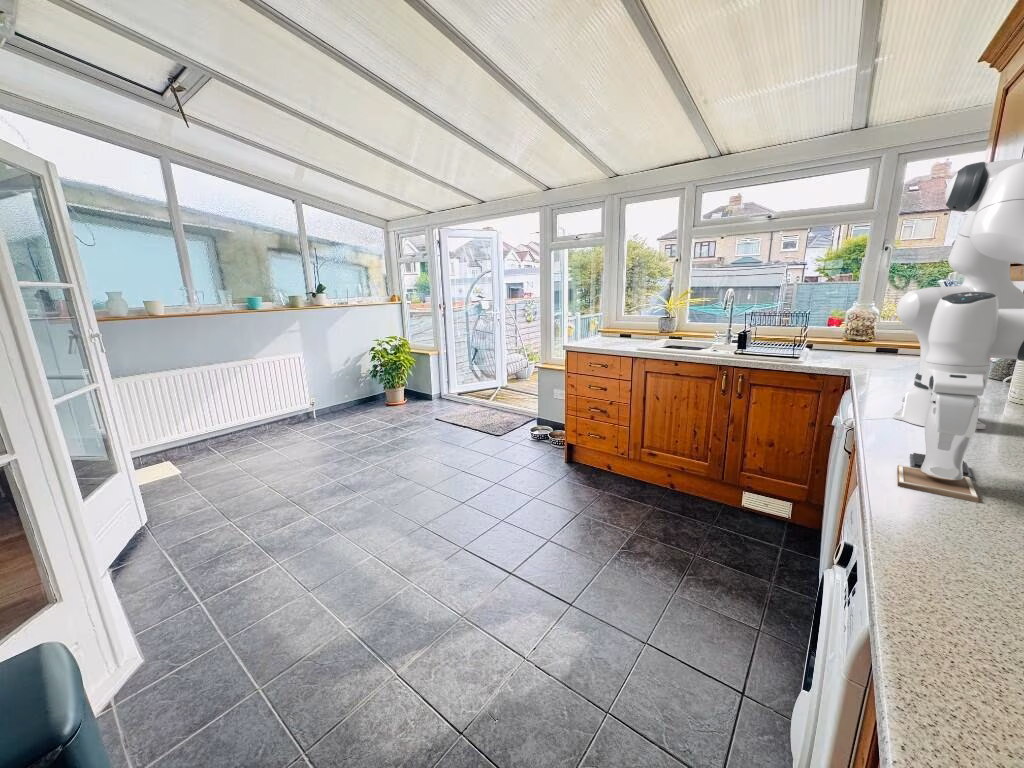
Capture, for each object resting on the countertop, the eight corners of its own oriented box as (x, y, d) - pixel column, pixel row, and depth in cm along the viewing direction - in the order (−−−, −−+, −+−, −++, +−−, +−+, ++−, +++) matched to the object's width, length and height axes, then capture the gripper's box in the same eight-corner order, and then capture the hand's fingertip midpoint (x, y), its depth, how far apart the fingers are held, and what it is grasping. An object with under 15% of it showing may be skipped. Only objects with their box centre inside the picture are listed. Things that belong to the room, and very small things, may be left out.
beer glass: (976, 482, 80) (991, 408, 77) (934, 481, 81) (947, 408, 78) (946, 468, 87) (959, 399, 84) (908, 466, 88) (919, 399, 85)
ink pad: (909, 457, 97) (910, 451, 97) (965, 466, 91) (966, 460, 91) (910, 470, 91) (911, 463, 90) (971, 481, 85) (972, 474, 84)
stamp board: (897, 468, 92) (897, 464, 91) (970, 481, 84) (970, 477, 84) (897, 486, 84) (898, 481, 84) (978, 502, 76) (979, 497, 76)
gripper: (927, 367, 90) (917, 428, 93) (934, 384, 75) (922, 455, 78) (969, 370, 86) (958, 433, 89) (986, 388, 71) (971, 463, 74)
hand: (941, 443), depth 83 cm, fingers closed on beer glass, 6 cm apart
